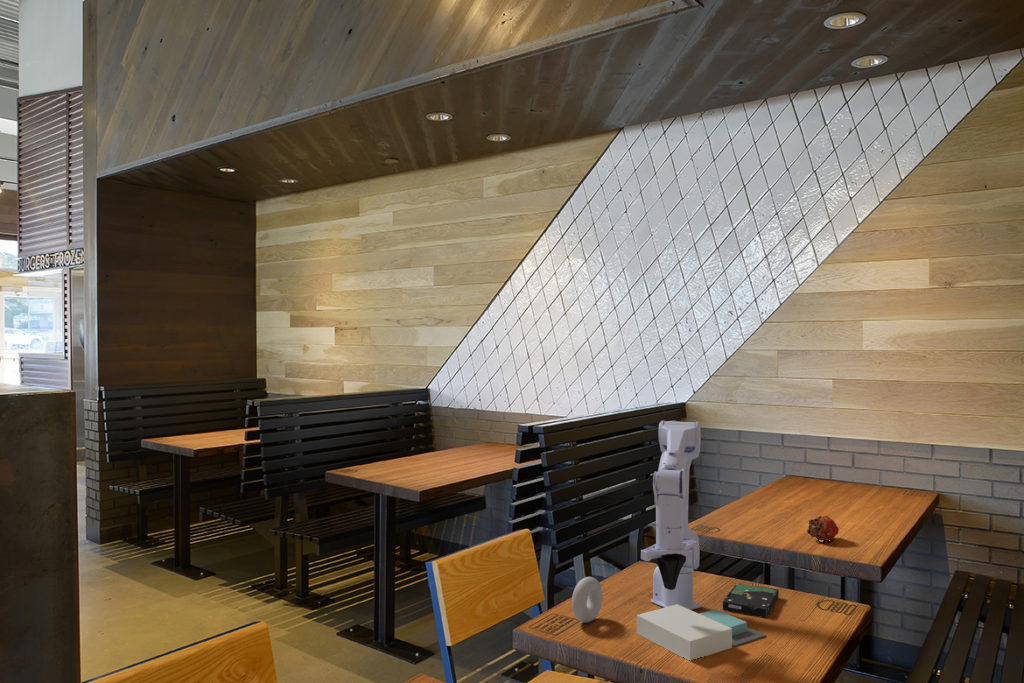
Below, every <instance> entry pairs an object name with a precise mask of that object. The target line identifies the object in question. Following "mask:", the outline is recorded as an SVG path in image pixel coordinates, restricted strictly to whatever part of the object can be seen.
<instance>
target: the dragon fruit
mask: <svg viewBox="0 0 1024 683" xmlns="http://www.w3.org/2000/svg"><path fill="white" fill-rule="evenodd" d="M808 524H809V525H808V526H807V527H808V529H807V530H806V532H807V534H808V535H810V536H811V537H812V538H814V537H816V538H817V539H818V540H825V541H826V540H830V541H831V542H834V541H835V538H836V536H837V535H838V534H839V527H838V525H837V523H836V522H835V520H833V519H831V517H830V516H828V515H823V516H821V515H820V516H817V517H815V518H814V519H809V520H808Z"/></svg>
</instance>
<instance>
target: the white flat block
mask: <svg viewBox="0 0 1024 683" xmlns="http://www.w3.org/2000/svg"><path fill="white" fill-rule="evenodd" d="M636 634H637V635H639V636H641V637H642V638H644V639H647V640H649V641H650V642H652V643H654V644H656V645H658V646H660V647H662V648H664V649H666V650H668V651H669V652H671V653H673V654H675V655H677V656H679V657H680V658H683V657H684V658H685V659H684V658H683V659H684V660H686V659H687V660H686V661H688V660H690V661H689V662H692V661H691V660H693V659H696V660H698V659H697V658H699V659H701V658H700V657H702V658H704V656H705V657H708V656H711V655H714V654H717V653H720V652H722V651H723V652H724V651H726V650H730V649H732V648H733V646H732V628H730V627H728V626H725V625H723V624H721V623H719V622H716V621H714V620H712V619H710V618H707V617H705V616H703V615H700V613H698V612H696V611H693V610H689V609H687V608H685V607H682V606H680V605H678V604H676V605H672V606H669V607H665V608H664V607H662V608H657V609H654V610H651V611H647V612H642V613H640V614H637V615H636ZM693 661H694V660H693Z"/></svg>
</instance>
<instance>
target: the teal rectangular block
mask: <svg viewBox="0 0 1024 683" xmlns="http://www.w3.org/2000/svg"><path fill="white" fill-rule="evenodd" d="M699 614H700V615H703V616H705V617H707V618H710V619H712V620H714V621H716V622H719V623H721V624H723V625H725V626H728V627H730V628H732V636H734V635H737V634H740V633H743V632H747V627H748V622H747V621H745V620H743V619H740V618H738V617H736V616H733V615H731V614H729V613H726V612H723V611H721V610H720V609H719V610H718V609H716V608H715V609H712V610H707V611H703V612H700V613H699Z"/></svg>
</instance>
